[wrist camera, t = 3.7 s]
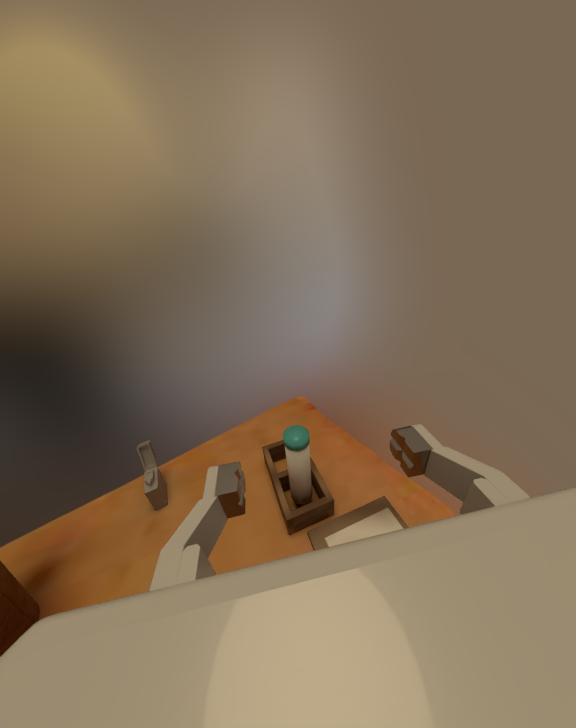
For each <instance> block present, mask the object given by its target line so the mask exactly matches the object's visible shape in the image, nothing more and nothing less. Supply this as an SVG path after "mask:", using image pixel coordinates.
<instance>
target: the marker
mask: <svg viewBox="0 0 576 728" xmlns="http://www.w3.org/2000/svg"><path fill="white" fill-rule="evenodd" d="M283 440H284V445H285V452H286V459H287V467H288V475H289V482H290V490H291V497H292V499H293V500H294V502H296V503H297V504H298V506H299V507H302V506H305V505H307V504H308V502H309V501H310V500H311V498H312V481H311V465H310V448H309V432H308V430H307V429H306V428H305V427H303V426H299V425H295V426H291V427H288V428H287V429H286V430H285V431H284V433H283Z"/></svg>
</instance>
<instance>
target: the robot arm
mask: <svg viewBox="0 0 576 728" xmlns="http://www.w3.org/2000/svg"><path fill="white" fill-rule="evenodd" d="M391 436H392V437H393V438H392V439H391V440H390V450H391V452H392V455H393V456H394V458H395V459H397V460H398V461H400V462H401V464H400V466H401V468H402V469H403V471H404V472H405V473H406V475H407V476H408V477H413V476H418V475H423V474H424V475H425V476H426V477H428V478H429V479H431V480H432V481H434V482H435V483H436V484H438V485H439V486H441V487H442V488H444V489H445V490H446V491H448V492H449V493H451V494H453V495H454V496H455V497H457V498H458V499H460V500H461V501H463V505H462V507H461V509H460V514H461V515H458V516H453V517H449V518H445V519H441V520H437V521H433V522H429V523H425V524H421V525H417V526H413V527H409V528H405V529H400V530H396V531H392V532H388V533H384V534H380V535H376V536H372V537H368V538H364V539H360V540H356V541H352V542H347V543H343V544H339V545H335V546H331V547H327V548H323V549H319V550H315V551H311V552H307V553H303V554H299V555H295V556H291V557H287V558H282V559H278V560H274V561H270V562H266V563H262V564H258V565H254V566H250V567H246V568H242V569H238V570H234V571H230V572H225V573H221V574H217V575H216V572H215V571H214V569H213V567H212V566H211V564H210V562H209V561H208V557H209V555H210V553H211V551H212V549H213V547H214V545H215V544H216V542H217V540H218V538H219V536H220V534H221V532H222V530H223V528H224V526H225V524H226V522H227V520H228V518H232V517H236V516H240V515H244V514H245V497H244V493H245V491H246V489H245V477H244V473H243V471H241V464H240V462H234V463H228V464H223V465H218V466H212V467H209V469H208V471H207V476H206V482H205V488H204V493H203V499H201V500H199V501H198V502H197V504H196V505H195V506H194V508H193V509H192V510H191V512H190V513H189V514H188V516H187V517H186V518H185V520H184V521H183V522H182V524H181V525H180V526H179V528H178V529H177V530H176V532H175V533H174V534H173V536H172V537H171V538H170V540H169V541H168V542H167V544H166V545H165V546H164V548H163V549H162V550H161V552H160V556H159V559H158V562H157V566H156V569H155V573H154V576H153V580H152V583H151V587H150V590H149V591H148V592H144V593H140V594H136V595H132V596H127V597H123V598H119V599H115V600H111V601H107V602H103V603H99V604H95V605H91V606H87V607H83V608H79V609H74V610H70V611H66V612H62V613H58V614H54V615H51V616H48V617H45V618H43V619H41V620H39V621H38V622H36V623H35V624H33V625H32V626H31V627H30V628H29V629H28V630H27V631H26V632H25V633H24V634H23V635H22V636H21V637H20V638H19V639H18V640H17V641H16V642H15V643H14V644H13V645H12V646H11V647H10V648H9V649H8V650H7V651H6V652H5V653H4V654H3V655H2V656H1V657H0V728H576V487H572V488H568V489H564V490H559V491H556V492H551V493H547V494H543V495H539V496H535V497H531V498H530V497H529V496H528V495H527V494H526V493H525V492H524V491H522V489H520V488H519V487H518V486H517V485H516V484H515V483H514V482H513V481H512V480H510V479H509V478H508V477H507V476H506V475H505V474H504V473H503V472H500V471H498V470H496V469H494V468H492V467H490V466H487V465H485V464H483V463H481V462H479V461H477V460H474V459H472V458H470V457H468V456H466V455H464V454H461V453H459V452H457V451H455V450H453V449H450V448H448V447H443V446H442V445H441V444H440V443H439V442H438V441H437V440H436V439H435V438H434V437H433V436H432V435H431V434H430V433H429V432H428V431H427V430H426V429H425V428H424V427H423V426H422V425H420V424H418V425H413V426H408V427H403V428H398V429H394V430H392V432H391Z"/></svg>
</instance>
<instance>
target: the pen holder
mask: <svg viewBox="0 0 576 728" xmlns="http://www.w3.org/2000/svg"><path fill="white" fill-rule="evenodd" d="M262 448H263V453H264V459H265V463H266V466H267V469H268V472H269V475H270V478H271V481H272V484H273V487H274V490H275V493H276V496H277V500H278V503H279V506H280V509H281V512H282V515H283V518H284V521H285V524H286V527H287V530H288V533H289V535H291V534H293V533H295V532H297V531H299V530H302V529H304V528H306V527H308V526H310V525H312V524H315V523H317V522H319V521H321V520H323V519H325V518H328V517H330V516H332V515H334V499H333V497H332V495H331V493H330V491H329V490H328V488H327V486H326V484H325V482H324V481H323V479H322V477H321V475H320V473H319V472H318V470H317V468H316V466H315V464H314V462H313V461H312V459H311V457H310V465H311V481H312V484H313V487H314V489H315V491H316V493H317V495H318V497H319V500H316V501H314V502H312V503H309V504H307V505H305V506H302V507H300V508H298V509H295V510H293V511H291V512H290V509H289V506H288V503H287V500H286V498H285V495H284V492H285V491H287V490H290V482H289V475H288V470H286V471H283V472H280V473H278V474H277V473H276V470H275V467H274V464H273V462H275V461H278V460H280V459H283V458H286V452H285V445H284V440H282V441H279V442H276V443H273V444H270V445H267V446H264V447H262Z"/></svg>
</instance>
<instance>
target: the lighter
mask: <svg viewBox="0 0 576 728" xmlns="http://www.w3.org/2000/svg"><path fill="white" fill-rule="evenodd" d="M137 451H138V454H139V456H140V459H141V462H142V465H143V467H144V470H145V471H146V472H145V487H144V493H145V495H146V496H147V498H148V500H149V501H150V503H151V504H152V506H153V507H154V509H155V510H156V511H157V510H159V509H161V508H163V507H165V506H167V504H168V501H167V484H166V482H165V480H164V479H163V477H162V475H161V473H160V471H159V469H158V468H157V467H156V466H157V464H158V461H157V458H156V455H155V453H154V450H153V447H152V444H151V441H146V442H144V443H141V444H139V445H138V447H137Z"/></svg>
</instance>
